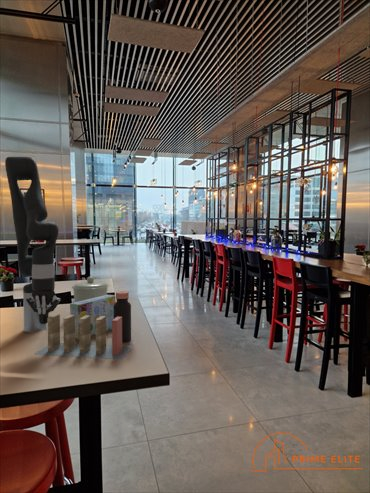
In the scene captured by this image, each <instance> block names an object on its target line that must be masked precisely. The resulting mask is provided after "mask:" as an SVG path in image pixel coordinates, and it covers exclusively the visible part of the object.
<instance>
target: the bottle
mask: <svg viewBox="0 0 370 493" xmlns="http://www.w3.org/2000/svg"><path fill="white" fill-rule="evenodd" d="M115 299H116V303H115V304H114V319H115V318H116V317H122V344H125V343H129V342H131V341H132V304H131V303H130V302H129V291H126V290H123V291H116V292H115Z"/></svg>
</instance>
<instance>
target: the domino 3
mask: <svg viewBox="0 0 370 493" xmlns="http://www.w3.org/2000/svg"><path fill="white" fill-rule="evenodd" d="M79 333H80V339H79V344H80V353H85V352H86V351H88V350H89V349H90V348H91V344H92V343H91V342H92V340H91V339H92V338H91V336H92V335H91V325H90V316H89V315H86V316H84V317H82V318H80V319H79Z"/></svg>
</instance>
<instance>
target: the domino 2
mask: <svg viewBox="0 0 370 493" xmlns="http://www.w3.org/2000/svg"><path fill="white" fill-rule="evenodd" d="M62 321H63V324H62V326H63V343H64V352H69V351H71V350H72V349H73V348H75V344H76V338H75V315H70V314H69V315H67V316H65V317H64V318H63V320H62Z"/></svg>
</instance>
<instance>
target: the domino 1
mask: <svg viewBox="0 0 370 493" xmlns="http://www.w3.org/2000/svg"><path fill="white" fill-rule="evenodd" d="M60 343H61V314H60V313H59V314H58V313H55V314H53V315H50V316H49V317H48V322H47V346H48V351H54V350H55V349H57V348H58V347H60Z"/></svg>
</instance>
